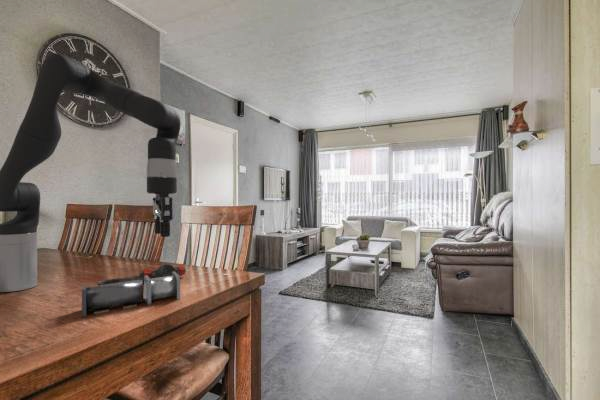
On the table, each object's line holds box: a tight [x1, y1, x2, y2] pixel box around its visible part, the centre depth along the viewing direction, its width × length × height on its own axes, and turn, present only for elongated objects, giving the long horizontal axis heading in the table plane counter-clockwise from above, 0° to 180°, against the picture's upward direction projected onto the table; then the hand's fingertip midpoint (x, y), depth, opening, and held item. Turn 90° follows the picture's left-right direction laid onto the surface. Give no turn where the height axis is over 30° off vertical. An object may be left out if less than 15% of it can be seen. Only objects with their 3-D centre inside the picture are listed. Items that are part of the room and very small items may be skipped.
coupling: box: [143, 272, 181, 306], centre depth 81 cm, size 8×6×6 cm
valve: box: [97, 263, 187, 286], centre depth 101 cm, size 6×26×15 cm
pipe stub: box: [81, 279, 144, 318], centre depth 75 cm, size 13×6×6 cm, turn 125°
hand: (162, 235), depth 81 cm, fingers open, 8 cm apart
